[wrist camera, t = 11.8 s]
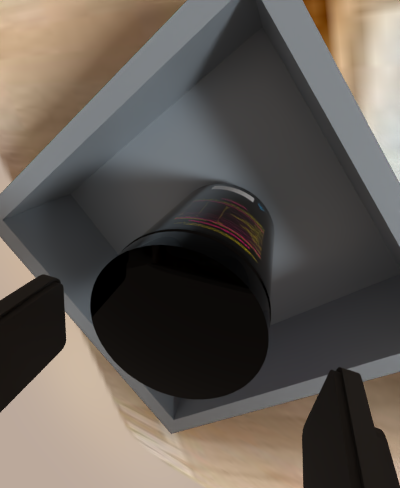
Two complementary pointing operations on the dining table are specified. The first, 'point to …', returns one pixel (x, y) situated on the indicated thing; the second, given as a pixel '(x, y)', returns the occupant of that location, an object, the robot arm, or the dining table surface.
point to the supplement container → (192, 296)
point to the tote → (236, 173)
